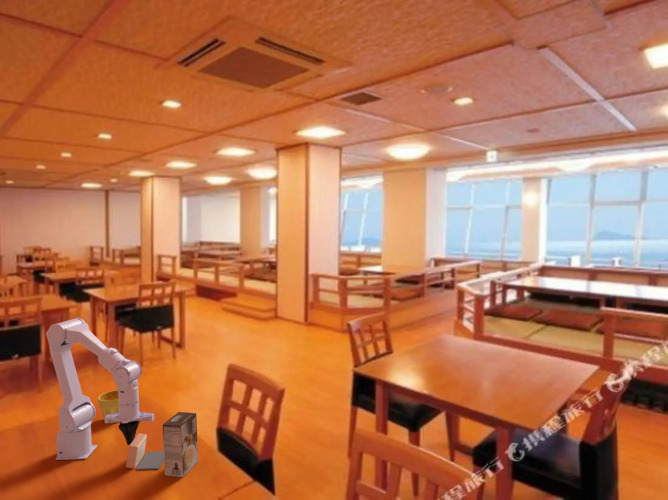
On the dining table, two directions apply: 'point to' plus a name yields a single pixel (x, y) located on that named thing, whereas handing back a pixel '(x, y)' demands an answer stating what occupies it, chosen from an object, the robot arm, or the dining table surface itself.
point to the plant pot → (109, 403)
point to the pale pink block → (136, 450)
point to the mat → (151, 460)
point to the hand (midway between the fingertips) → (130, 443)
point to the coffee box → (180, 444)
